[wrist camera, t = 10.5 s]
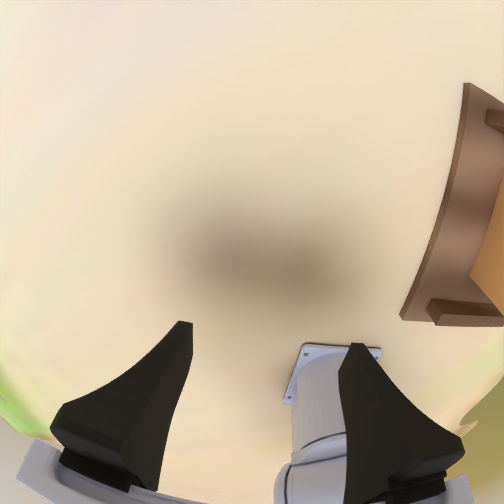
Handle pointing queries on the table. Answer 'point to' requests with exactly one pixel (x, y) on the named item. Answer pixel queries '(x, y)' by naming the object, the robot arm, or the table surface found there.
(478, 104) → the walnut cradle
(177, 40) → the table surface
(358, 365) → the robot arm
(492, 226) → the tall tan cuboid
